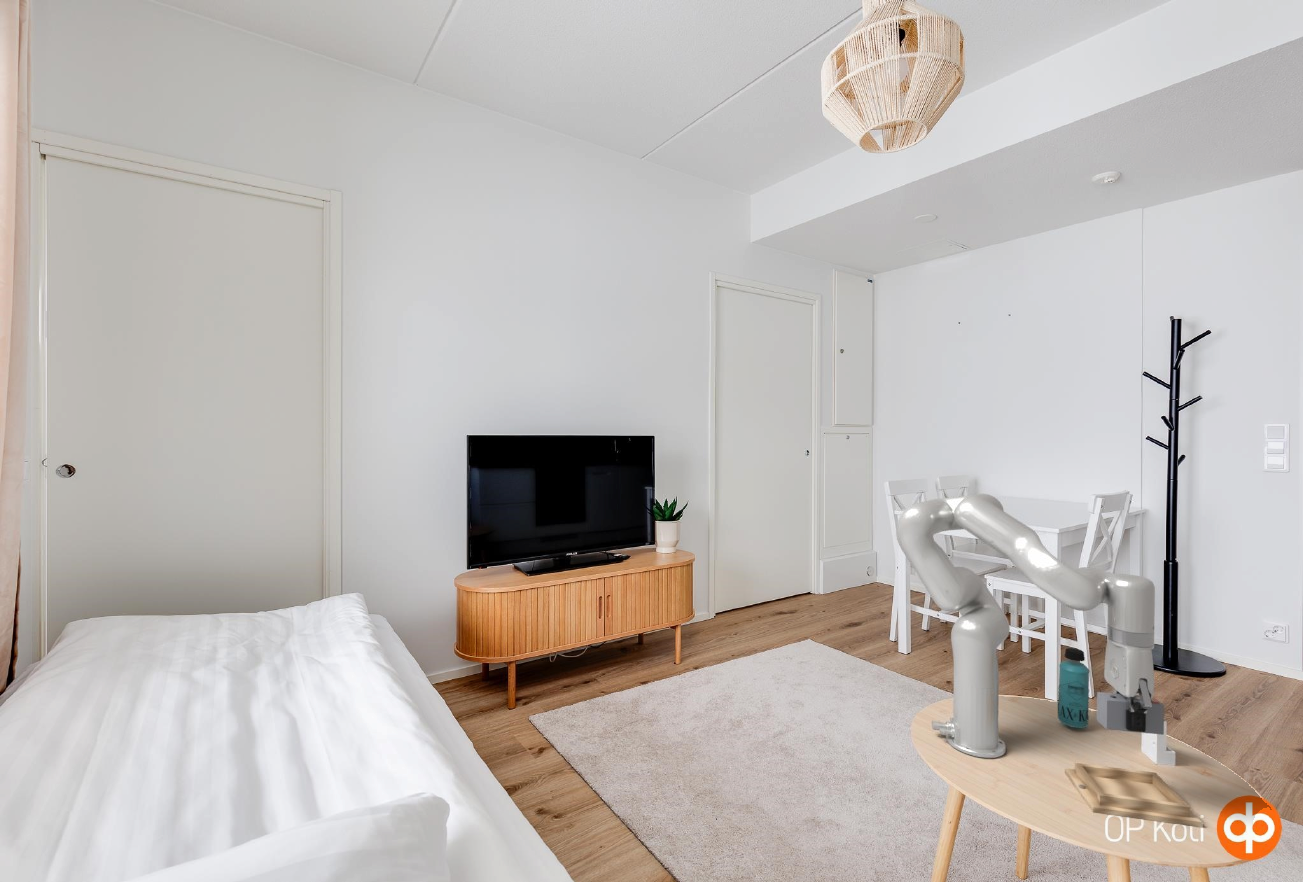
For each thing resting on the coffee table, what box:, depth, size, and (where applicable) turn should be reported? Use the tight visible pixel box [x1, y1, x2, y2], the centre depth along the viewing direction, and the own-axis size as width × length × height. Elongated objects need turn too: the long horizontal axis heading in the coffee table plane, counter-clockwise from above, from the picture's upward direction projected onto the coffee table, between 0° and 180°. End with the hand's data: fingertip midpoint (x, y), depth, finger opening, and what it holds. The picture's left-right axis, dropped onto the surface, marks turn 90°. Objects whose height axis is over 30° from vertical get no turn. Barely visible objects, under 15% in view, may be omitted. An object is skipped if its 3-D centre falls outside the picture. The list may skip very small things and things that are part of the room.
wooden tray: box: [1064, 762, 1203, 828], centre depth 124 cm, size 18×14×3 cm
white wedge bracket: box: [1140, 720, 1176, 767], centre depth 138 cm, size 4×10×9 cm, turn 168°
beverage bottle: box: [1057, 647, 1090, 729], centre depth 152 cm, size 6×7×20 cm
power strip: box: [1096, 691, 1165, 735], centre depth 124 cm, size 10×4×6 cm, turn 77°
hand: (1129, 723), depth 124 cm, fingers closed on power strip, 4 cm apart
